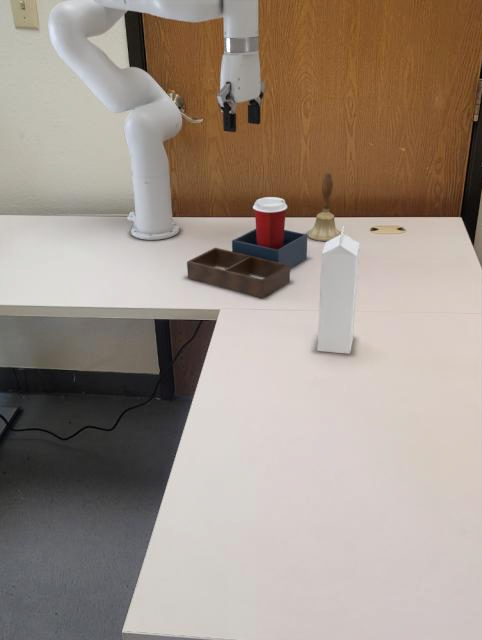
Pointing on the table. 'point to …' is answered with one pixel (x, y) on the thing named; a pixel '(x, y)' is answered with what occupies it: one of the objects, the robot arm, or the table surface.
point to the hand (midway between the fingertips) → (242, 127)
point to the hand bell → (325, 215)
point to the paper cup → (270, 221)
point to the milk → (338, 294)
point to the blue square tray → (288, 254)
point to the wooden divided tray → (239, 272)
